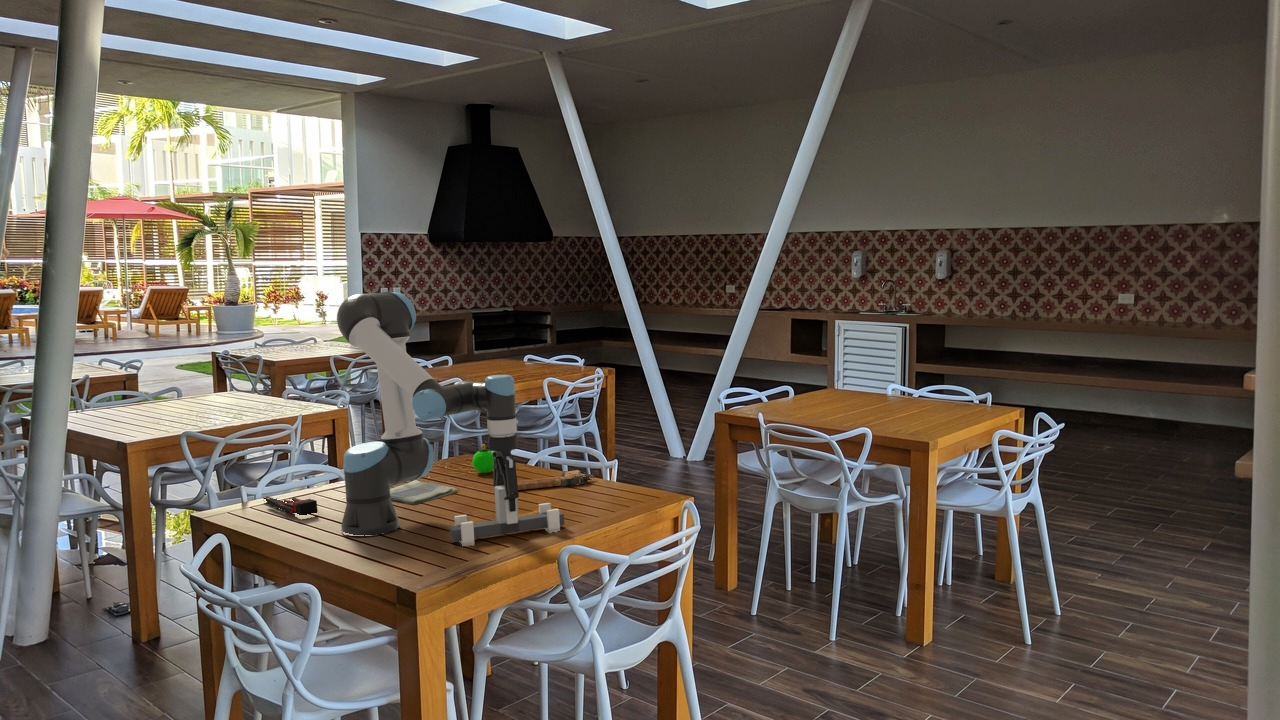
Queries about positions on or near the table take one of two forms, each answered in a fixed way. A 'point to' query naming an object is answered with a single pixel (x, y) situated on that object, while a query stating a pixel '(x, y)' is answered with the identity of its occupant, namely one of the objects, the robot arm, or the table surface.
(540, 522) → the bar
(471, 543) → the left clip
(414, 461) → the robot arm
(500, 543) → the table surface
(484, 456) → the ornament
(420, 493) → the dish towel
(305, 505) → the toy
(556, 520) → the right clip
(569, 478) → the decorative handgun
